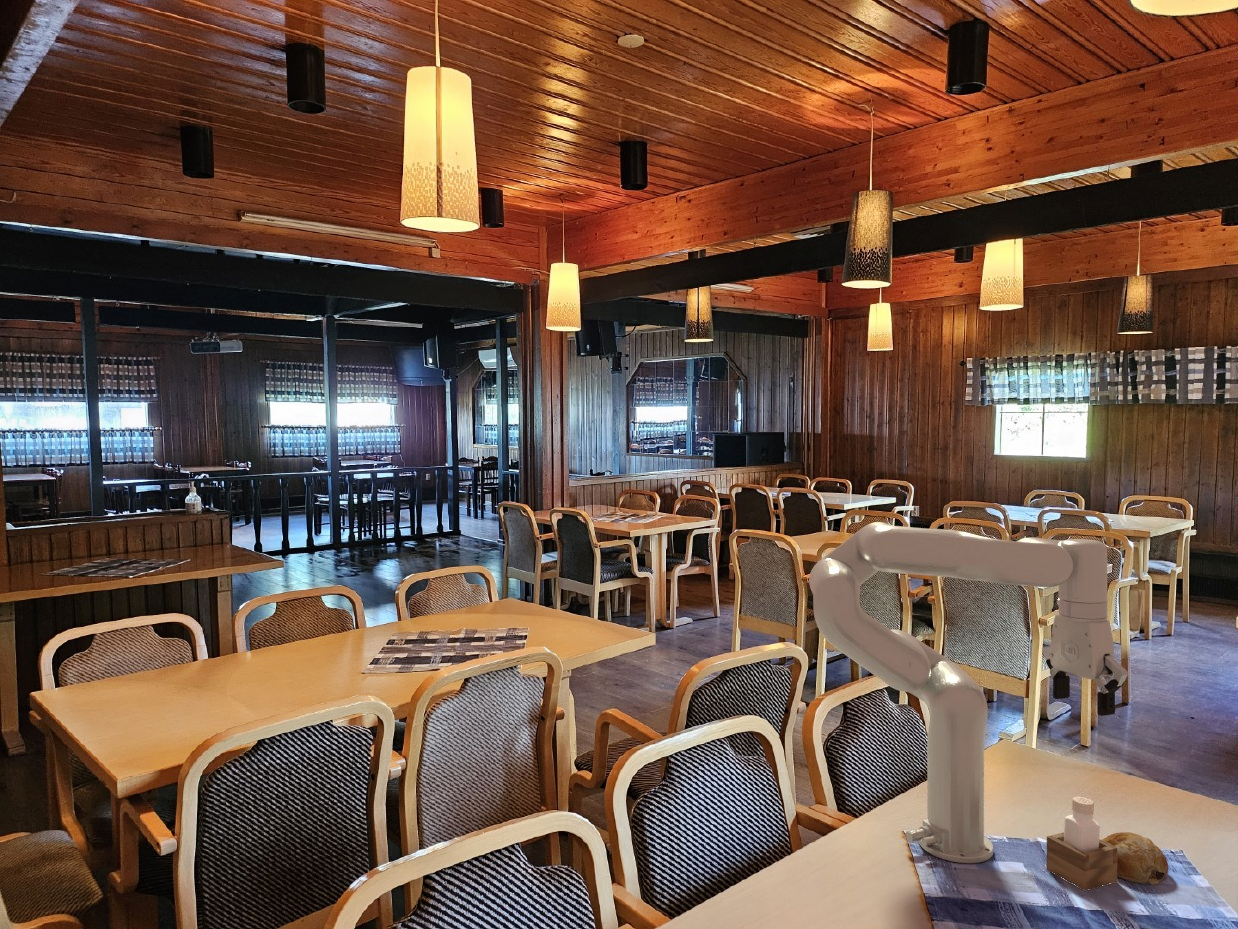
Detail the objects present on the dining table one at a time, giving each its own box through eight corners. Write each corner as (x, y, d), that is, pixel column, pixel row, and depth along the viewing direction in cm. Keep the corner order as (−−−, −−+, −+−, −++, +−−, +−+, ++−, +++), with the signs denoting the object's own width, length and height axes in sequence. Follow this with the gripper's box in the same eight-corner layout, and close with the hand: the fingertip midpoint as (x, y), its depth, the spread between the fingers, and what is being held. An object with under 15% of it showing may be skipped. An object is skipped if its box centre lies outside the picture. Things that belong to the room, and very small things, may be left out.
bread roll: (1131, 908, 137) (1153, 874, 134) (1078, 857, 146) (1097, 824, 142) (1166, 892, 142) (1188, 859, 139) (1113, 844, 150) (1132, 811, 147)
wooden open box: (1084, 892, 136) (1084, 856, 136) (1046, 871, 143) (1046, 836, 143) (1117, 883, 138) (1117, 848, 138) (1078, 863, 145) (1078, 829, 145)
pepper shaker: (1079, 863, 138) (1082, 806, 138) (1061, 851, 142) (1064, 796, 142) (1099, 861, 139) (1102, 804, 139) (1081, 849, 143) (1083, 794, 143)
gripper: (1028, 602, 154) (1028, 694, 154) (1107, 621, 137) (1107, 724, 138) (1061, 599, 156) (1061, 690, 157) (1142, 617, 140) (1142, 719, 140)
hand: (1083, 706), depth 147 cm, fingers open, 9 cm apart
